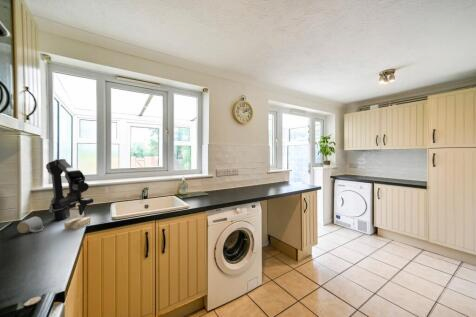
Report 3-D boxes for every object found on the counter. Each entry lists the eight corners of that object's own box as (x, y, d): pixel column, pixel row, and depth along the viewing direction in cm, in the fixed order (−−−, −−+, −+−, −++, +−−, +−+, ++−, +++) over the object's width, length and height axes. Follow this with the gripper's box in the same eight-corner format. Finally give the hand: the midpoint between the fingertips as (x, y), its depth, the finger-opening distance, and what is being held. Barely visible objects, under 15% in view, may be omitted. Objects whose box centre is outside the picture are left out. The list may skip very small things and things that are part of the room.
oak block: (64, 229, 118) (64, 223, 118) (77, 223, 127) (76, 217, 127) (79, 229, 118) (78, 222, 118) (90, 223, 127) (90, 217, 127)
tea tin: (70, 218, 120) (69, 208, 119) (77, 215, 125) (76, 206, 124) (77, 218, 119) (76, 208, 119) (84, 215, 124) (83, 206, 124)
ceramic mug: (16, 234, 112) (15, 221, 112) (31, 228, 120) (30, 216, 120) (34, 234, 112) (33, 221, 111) (48, 228, 120) (47, 216, 120)
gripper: (47, 193, 114) (50, 219, 115) (77, 193, 112) (79, 220, 113) (66, 189, 125) (68, 213, 126) (93, 189, 123) (95, 213, 124)
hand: (77, 214), depth 122 cm, fingers closed on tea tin, 5 cm apart
